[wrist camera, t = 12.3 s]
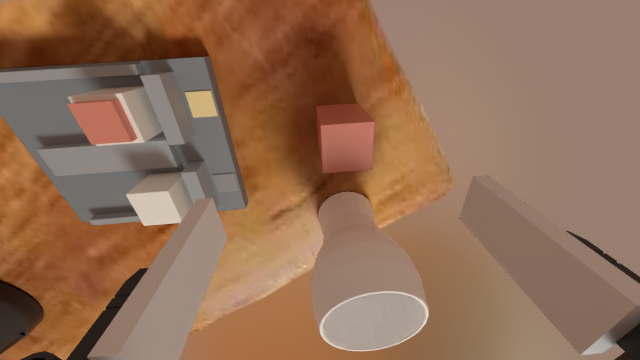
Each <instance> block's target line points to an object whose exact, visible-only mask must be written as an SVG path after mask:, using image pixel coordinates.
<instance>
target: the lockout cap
mask: <svg viewBox="0 0 640 360" xmlns="http://www.w3.org/2000/svg"><path fill="white" fill-rule="evenodd" d="M316 116H317V134H318V147H319V153H320V159H321V165H322V171H323V173H336V172H349V171H362V170H372V157H373V143H374V130H375V121H374V120H373V119H372V118H371V117H370V116H369V115H368V114H367V113H366V112H365V111H364V110H363V109H362V107H361V106H360V105H359V104H358V103H350V104H335V105H320V106H316Z"/></svg>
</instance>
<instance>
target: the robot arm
mask: <svg viewBox="0 0 640 360" xmlns="http://www.w3.org/2000/svg"><path fill="white" fill-rule="evenodd" d="M459 219H460V220H461V221H462V222H463V223H464V224H465V226H466V227H467V228H468V229H469V230H470V231H471V232H472V233H473V235H474V236H475V237H476V238H477V239H478V240H479V241H480V242H481V244H482V245H483V246H484V247H485V248H486V249H487V250H488V251H489V253H490V254H491V255H492V256H493V257H494V258H495V259H496V260H497V262H498V263H499V264H500V265H501V266H502V267H503V268H504V269H505V270H506V272H507V273H508V274H509V275H510V276H511V277H512V278H513V280H514V281H515V282H516V283H517V284H518V285H519V286H520V287H521V289H522V290H523V291H524V292H525V293H526V294H527V295H528V296H529V298H530V299H531V300H532V301H533V302H534V303H535V304H536V305H537V306H538V308H539V309H540V310H541V311H542V312H543V313H544V315H545V316H546V317H547V318H548V319H549V320H550V321H551V322H552V324H553V325H554V326H555V327H556V328H557V329H558V330H559V331H560V333H561V334H562V335H563V336H564V337H565V338H566V339H567V341H568V342H569V343H570V344H571V345H572V346H573V347H574V348H575V350H576V351H577V352H578V353H579V354H580V355H586V354H596V353H604V352H605V351H607V350H608V349H609V348H610V347H612V346H613V345H614V344H615V343H617V344H618V345H619V346H620V347H621V348H622V349H623V350H624V351H625V352H624V353H623V354H622V355H620V356H619V357H617V358H616V359H615V360H640V277H639V276H638V275H636V274H635V273H633V272H632V271H630V270H629V269H628V268H626V267H625V266H623V265H622V264H618V263H617V261H616V260H615V259H613V258H612V257H610V256H609V255H607V254H604V253H603V251H602V250H600V249H599V248H597V247H596V246H594V245H593V244H592V243H590V242H589V241H587V240H586V239H583V238H581V237H579V236H577V235H575V234H573V233H571V232H569V231H565V230H564V229H562V228H561V227H559V226H558V225H557V224H555V223H554V222H552V221H551V220H550V219H548V218H547V217H545V216H544V215H542V214H541V213H540V212H539V211H537V210H536V209H534V208H533V207H532V206H530V205H529V204H527V203H526V202H525V201H523V200H522V199H520V198H519V197H518V196H516V195H515V194H513V193H512V192H511V191H509V190H508V189H506V188H505V187H504V186H502V185H500V184H499V183H498V182H497V181H495V180H494V179H492V178H491V177H490V176H488V175H487V176H474V177H473V178H472V181H471V184H470V187H469V190H468V193H467V196H466V199H465V202H464V205H463V209H462V212H461V214H460V217H459ZM226 240H227V236H226V233H225V230H224V228H223V225H222V222H221V220H220V217H219V214H218V211H217V209H216V206H215V203H214V201H213V198H204V199H197V200H196V201H195V202H194V204H193V205H192V207H191V208H190V210H189V211H188V213H187V214H186V215H185V217H184V218H183V220H182V221H181V223H180V224H179V225H178V227H177V228H176V230H175V231H174V233H173V234H172V235H171V237H170V238H169V240H168V241H167V243H166V244H165V246H164V247H163V248H162V250H161V251H160V253H159V254H158V256H157V257H156V258H155V260H154V261H153V263H152V264H151V266H150V267H149V268H143V269H139V270H138V271H137V272H136V273H135V274H134V275H132V276H131V277H130V278H129V279H128V280H127V281H125V283H124V284H123V285H122V287H121V288H120V289H119V291H118V292H117V293H116V295H115V298H113V299H112V300H111V301H110V303H109V304H108V305H107V307H106V310H105V311H103V312H102V313H101V315H100V316H99V317H98V319H97V320H96V321H95V323H94V324H93V325H92V326H91V328H90V329H89V330H88V332H87V333H86V334H85V336H84V337H83V338H82V340H81V341H80V342H79V344H78V345H77V346H76V348H75V349H74V350H73V352H72V353H71V354H70V356H69V357H68V358H67V360H179V358H180V355H181V353H182V351H183V348H184V345H185V343H186V341H187V338H188V336H189V333H190V331H191V328H192V326H193V323H194V321H195V318H196V316H197V313H198V311H199V308H200V305H201V303H202V300H203V298H204V295H205V293H206V290H207V288H208V285H209V283H210V280H211V278H212V275H213V273H214V270H215V268H216V265H217V263H218V260H219V258H220V255H221V253H222V250H223V248H224V245H225V243H226ZM43 316H44V314H43V310H42V308H41V307H40V305H39V304H38V303H37V302H36V301H35V300H34V299H32V298H31V297H30V296H28V295H27V294H25V293H23V292H22V291H20V290H18V289H16V288H13V287H11V286H9V285H6V284H4V283H1V282H0V354H2V353H3V352H4V351H6V350H7V349H9V348H10V347H12V346H13V345H14V344H16V343H17V342H19V341H20V340H22V339H23V338H24V337H26V336H27V335H28V334H29V333H30V332H31V331H32V330H33V329H34V328H35V327H36V326H37V325H38V324H39V323H40V322H41V321H42V319H43ZM21 360H61V359H60V358H58V357H57V356H55V355H54V354H52V353H49V352H46V351H44V352H39V353H34V354H31V355H29V356H27V357H25V358H23V359H21Z"/></svg>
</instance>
